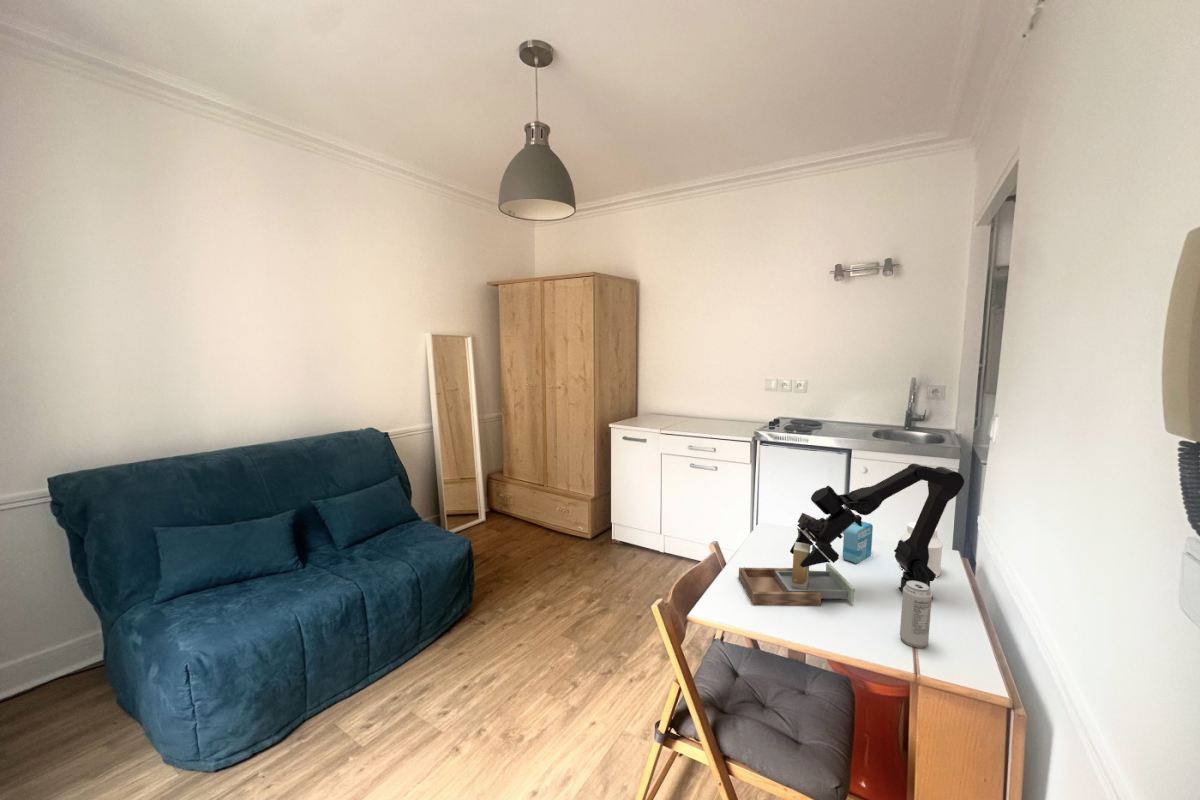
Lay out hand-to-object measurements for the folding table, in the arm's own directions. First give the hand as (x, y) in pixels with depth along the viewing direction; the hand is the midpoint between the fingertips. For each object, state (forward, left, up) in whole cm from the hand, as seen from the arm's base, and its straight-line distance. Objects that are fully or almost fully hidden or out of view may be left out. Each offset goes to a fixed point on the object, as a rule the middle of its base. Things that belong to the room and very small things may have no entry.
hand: (795, 559), depth 146 cm
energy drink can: (-21, +25, -10) cm, 34 cm away
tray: (-5, 0, -9) cm, 10 cm away
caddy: (+5, 0, -10) cm, 11 cm away
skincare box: (-2, 0, -8) cm, 8 cm away
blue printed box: (-30, -24, -10) cm, 40 cm away
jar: (-46, -15, -10) cm, 50 cm away
